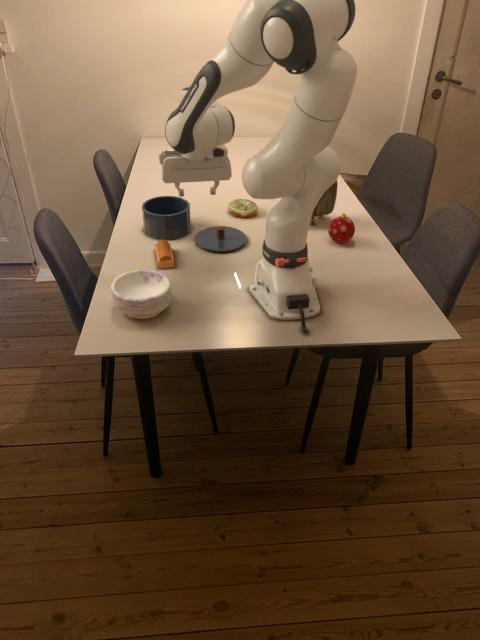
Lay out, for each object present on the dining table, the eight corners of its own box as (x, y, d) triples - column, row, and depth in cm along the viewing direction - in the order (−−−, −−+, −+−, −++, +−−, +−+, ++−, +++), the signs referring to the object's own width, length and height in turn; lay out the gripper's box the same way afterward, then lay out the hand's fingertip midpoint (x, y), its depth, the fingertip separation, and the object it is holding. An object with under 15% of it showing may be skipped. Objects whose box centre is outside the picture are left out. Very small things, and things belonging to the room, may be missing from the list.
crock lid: (251, 251, 154) (251, 237, 152) (199, 255, 151) (198, 242, 148) (240, 227, 167) (240, 214, 165) (191, 231, 164) (191, 218, 161)
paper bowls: (174, 292, 135) (172, 268, 130) (170, 326, 123) (167, 300, 118) (119, 292, 134) (115, 267, 129) (109, 326, 122) (104, 300, 117)
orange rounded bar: (174, 267, 146) (173, 255, 143) (158, 268, 145) (157, 257, 142) (170, 249, 154) (169, 238, 152) (155, 250, 153) (154, 239, 151)
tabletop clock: (323, 214, 177) (333, 145, 162) (334, 225, 170) (345, 154, 155) (286, 219, 173) (292, 149, 158) (296, 230, 166) (304, 158, 151)
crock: (194, 237, 161) (193, 213, 156) (145, 241, 158) (143, 217, 153) (187, 217, 173) (186, 194, 168) (142, 220, 170) (140, 197, 165)
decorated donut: (246, 221, 171) (246, 211, 169) (222, 213, 176) (222, 204, 173) (262, 211, 178) (263, 202, 175) (238, 204, 183) (238, 194, 180)
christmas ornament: (333, 249, 157) (337, 220, 151) (322, 236, 163) (326, 209, 157) (357, 246, 159) (362, 217, 153) (345, 234, 165) (350, 206, 159)
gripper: (159, 153, 132) (163, 201, 140) (233, 150, 135) (232, 197, 144) (157, 146, 137) (161, 192, 145) (229, 143, 140) (228, 188, 149)
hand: (197, 194), depth 145 cm, fingers open, 8 cm apart
